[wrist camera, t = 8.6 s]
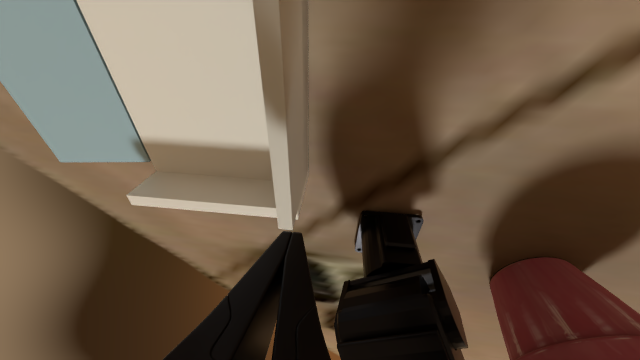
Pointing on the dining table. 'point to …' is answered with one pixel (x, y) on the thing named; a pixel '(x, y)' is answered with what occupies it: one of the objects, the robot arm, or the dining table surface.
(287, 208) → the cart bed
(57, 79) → the tailgate
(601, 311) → the plant pot
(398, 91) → the dining table surface
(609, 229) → the dining table surface
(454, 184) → the dining table surface
